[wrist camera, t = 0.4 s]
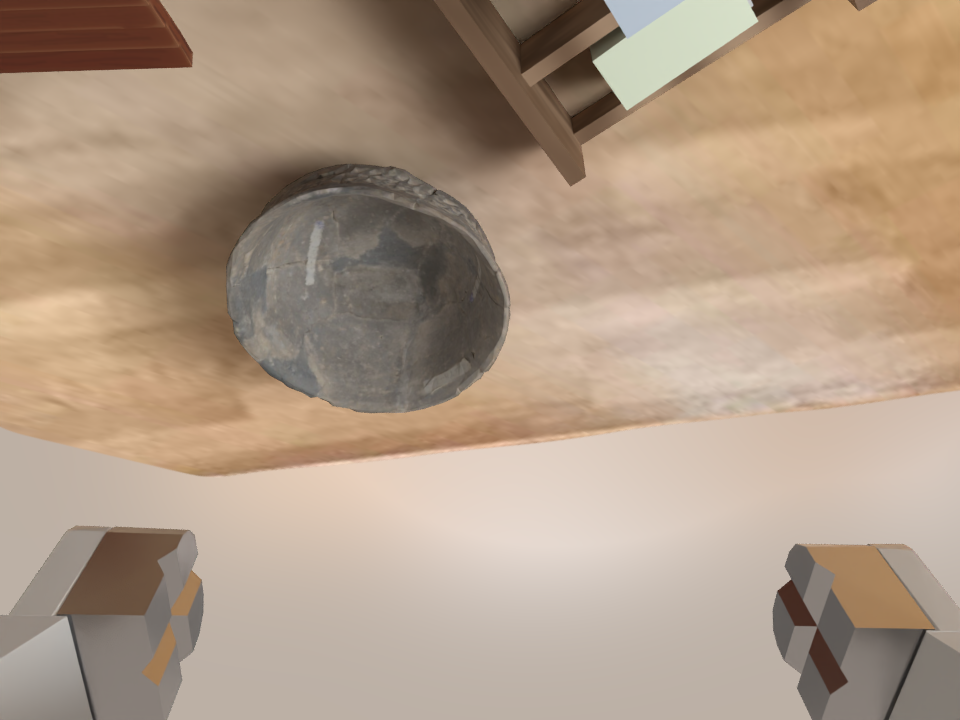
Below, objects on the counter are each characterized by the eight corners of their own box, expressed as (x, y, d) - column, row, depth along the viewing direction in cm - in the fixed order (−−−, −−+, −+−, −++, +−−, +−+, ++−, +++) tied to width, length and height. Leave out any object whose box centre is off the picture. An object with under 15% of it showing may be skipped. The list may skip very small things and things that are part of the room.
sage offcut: (717, -52, 46) (727, -37, 44) (747, 4, 48) (758, 21, 46) (588, 43, 50) (592, 61, 48) (621, 91, 52) (626, 110, 50)
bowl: (487, 100, 56) (484, 169, 48) (526, 320, 69) (529, 401, 62) (214, 144, 59) (172, 215, 51) (303, 347, 72) (280, 427, 65)
